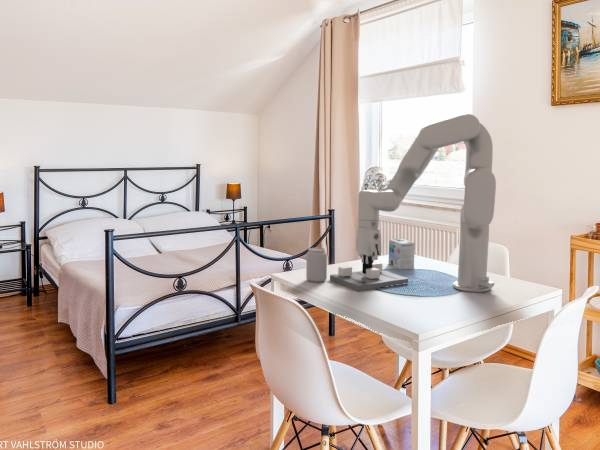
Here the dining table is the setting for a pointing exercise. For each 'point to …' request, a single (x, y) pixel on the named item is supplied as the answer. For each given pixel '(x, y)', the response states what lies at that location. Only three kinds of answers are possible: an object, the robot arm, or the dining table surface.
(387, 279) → the breaker panel
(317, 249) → the can
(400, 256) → the light bulb box
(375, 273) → the handle
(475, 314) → the dining table surface
